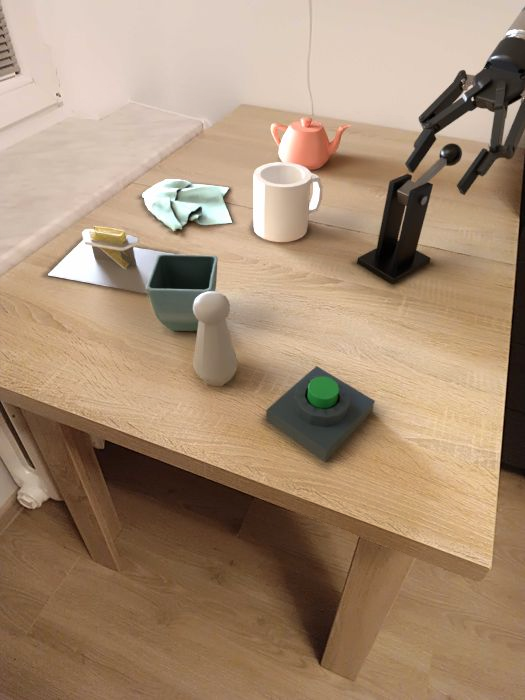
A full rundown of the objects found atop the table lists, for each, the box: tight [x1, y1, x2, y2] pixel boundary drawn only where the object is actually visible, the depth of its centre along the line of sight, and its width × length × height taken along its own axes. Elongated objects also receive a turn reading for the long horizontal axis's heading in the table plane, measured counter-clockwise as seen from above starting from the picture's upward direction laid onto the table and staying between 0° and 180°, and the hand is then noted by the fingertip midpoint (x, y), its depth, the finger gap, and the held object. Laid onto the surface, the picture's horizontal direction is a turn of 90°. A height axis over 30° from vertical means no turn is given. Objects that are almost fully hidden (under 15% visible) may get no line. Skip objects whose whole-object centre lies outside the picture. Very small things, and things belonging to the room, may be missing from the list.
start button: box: [307, 377, 339, 409], centre depth 59 cm, size 4×4×2 cm
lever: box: [397, 142, 463, 207], centre depth 79 cm, size 13×3×3 cm, turn 129°
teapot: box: [270, 116, 351, 171], centre depth 114 cm, size 12×18×10 cm
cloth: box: [141, 178, 233, 232], centre depth 100 cm, size 20×22×2 cm
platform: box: [47, 225, 176, 294], centre depth 84 cm, size 12×18×7 cm, turn 74°
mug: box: [253, 161, 324, 243], centre depth 92 cm, size 14×10×11 cm
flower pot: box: [146, 253, 219, 332], centre depth 72 cm, size 9×9×9 cm
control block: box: [265, 365, 376, 463], centre depth 61 cm, size 10×9×4 cm
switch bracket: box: [356, 173, 434, 285], centre depth 82 cm, size 10×8×15 cm
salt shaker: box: [192, 290, 239, 387], centre depth 63 cm, size 6×6×13 cm
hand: (433, 179), depth 80 cm, fingers open, 9 cm apart
